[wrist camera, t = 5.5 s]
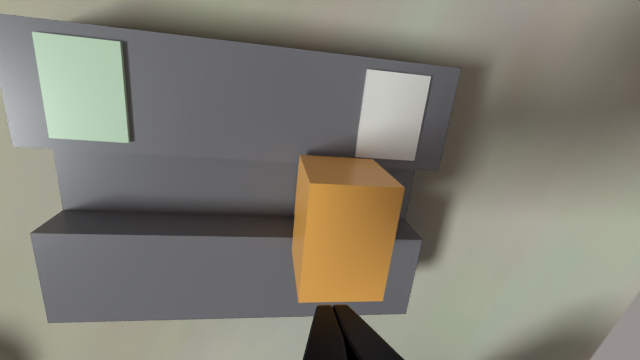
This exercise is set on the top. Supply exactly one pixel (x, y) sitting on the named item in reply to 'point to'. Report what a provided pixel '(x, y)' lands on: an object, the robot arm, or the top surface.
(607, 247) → the top surface
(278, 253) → the breaker block
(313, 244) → the handle
